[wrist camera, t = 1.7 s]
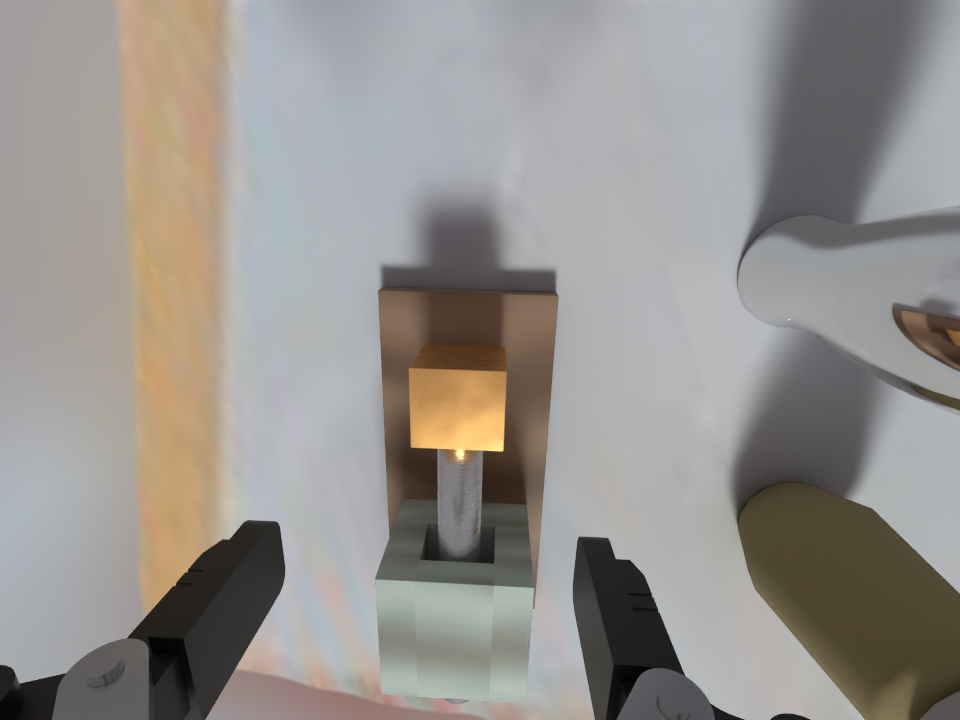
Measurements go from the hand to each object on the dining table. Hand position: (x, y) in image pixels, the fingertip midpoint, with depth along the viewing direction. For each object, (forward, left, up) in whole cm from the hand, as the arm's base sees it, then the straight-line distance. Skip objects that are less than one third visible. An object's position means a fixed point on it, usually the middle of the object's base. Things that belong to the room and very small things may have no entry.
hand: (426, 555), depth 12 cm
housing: (+6, 0, -16) cm, 17 cm away
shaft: (+9, 0, -13) cm, 16 cm away
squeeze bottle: (+10, +21, -16) cm, 28 cm away
